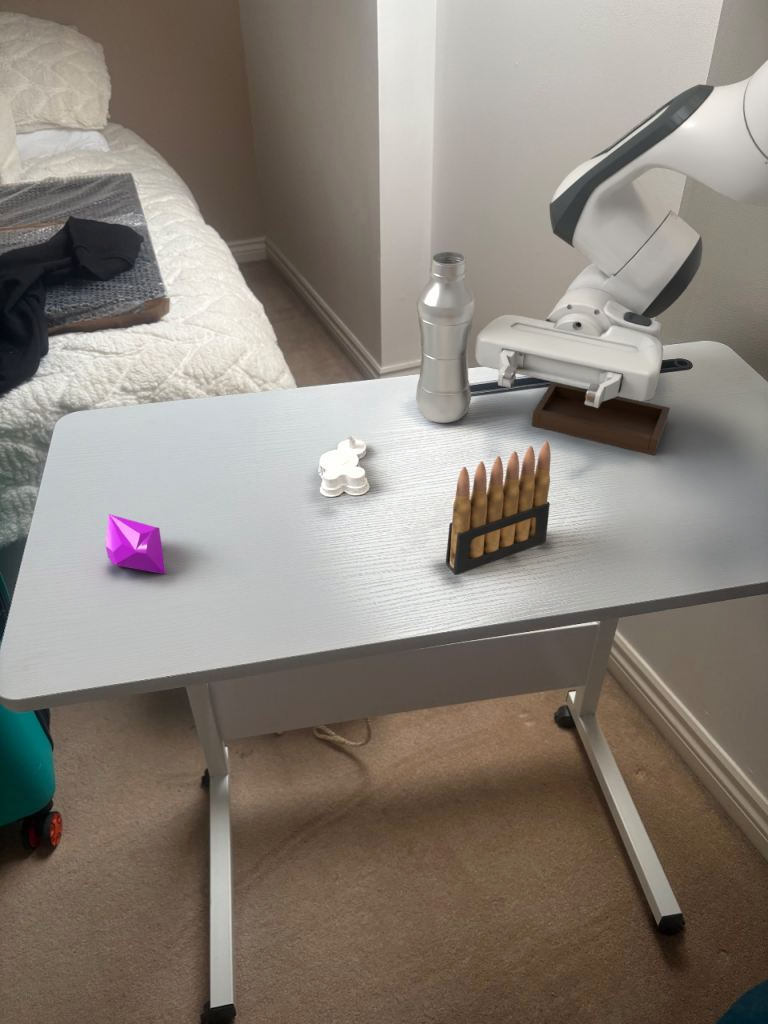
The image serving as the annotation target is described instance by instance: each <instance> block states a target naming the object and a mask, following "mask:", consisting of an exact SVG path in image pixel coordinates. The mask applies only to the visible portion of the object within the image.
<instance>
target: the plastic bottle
mask: <svg viewBox="0 0 768 1024" xmlns="http://www.w3.org/2000/svg"><path fill="white" fill-rule="evenodd" d="M430 262H431V264H430V269H429V275H430V277H431V279H429V281H428V282H427V283H426V284H425V286H424V287H423V289H422V290H421V291H420V293H419V295H418V297H417V298H418V299H417V301H416V307H417V308H416V310H417V311H416V312H417V317H418V324H419V332H420V347H421V351H420V352H421V359H420V368H419V379H418V381H417V385H416V391H415V402H416V407H417V410H418V411H419V413H420V414H421V415H422V417H424V418H425V419H426V420H428V421H431V422H434V423H441V424H446V423H454V422H456V421H459V420H460V419H462V418H463V417H465V415H466V414H467V413H468V412H469V409H470V404H471V401H472V392H471V391H472V390H471V384H470V380H469V358H468V357H469V347H470V340H471V339H470V338H471V332H472V328H473V324H474V318H475V313H476V307H477V306H476V305H477V303H476V299H475V295H474V293H473V291H472V290H471V288H470V286H469V285H468V283H467V282H466V281H465V279H464V278H465V277H466V275H467V269H466V264H467V257H466V256H465V255H464V254H462V253H461V252H460V253H459V252H455V251H440V252H437V253H435V254H433V255H432V256H431V261H430Z"/></svg>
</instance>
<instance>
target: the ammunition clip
mask: <svg viewBox="0 0 768 1024" xmlns="http://www.w3.org/2000/svg"><path fill="white" fill-rule="evenodd" d="M551 457H552V454H551V445H550V443H549V441H547V440H546V441H545V442H544V443H543V444H542V445H541V448H540V450H539V453H538V457H537V462H536V455H535V451H534V448H533V446H532V445H530V446H529V447H528V448H527V450H526V451H525V454H524V457H523V459H522V464H521V471H520V459H519V455H518V452H517V451H516V450H514V451H513V452H512V453H511V455H510V456H509V459H508V461H507V466H506V471H505V476H504V465H503V461H502V458H501V456H500V455H497V457H495V459H494V462H493V463H492V467H491V471H490V476H489V483H488V479H487V470H486V465H485V463H484V461H480V462H479V463H478V465H477V467H476V470H475V473H474V477H473V485H472V491H471V483H470V481H471V480H470V475H469V471H468V469H467V467H466V466H463V467H462V468H461V470H460V472H459V475H458V478H457V483H456V491H455V498H454V502H453V505H452V519H451V522H450V523H449V526H448V534H447V535H448V536H447V544H446V545H447V546H446V554H445V555H446V556H445V565H446V566H447V567H448V568H449V570H450V571H451V573H453V574H454V575H460V574H461V573H465V572H468V571H470V570H473V569H475V568H478V567H481V566H484V565H487V564H489V563H492V562H495V561H498V560H500V559H503V558H506V557H508V556H511V555H514V554H516V553H519V552H522V551H525V550H528V549H531V548H533V547H536V546H539V545H541V544H545V543H546V542H547V534H548V525H549V524H548V523H549V514H550V505H551V503H550V502H549V501H548V500H549V499H548V498H549V491H550V485H551V484H550V483H551V475H550V474H551V473H550V471H551ZM487 484H488V485H487ZM487 486H488V487H487ZM470 491H471V492H470Z"/></svg>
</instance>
